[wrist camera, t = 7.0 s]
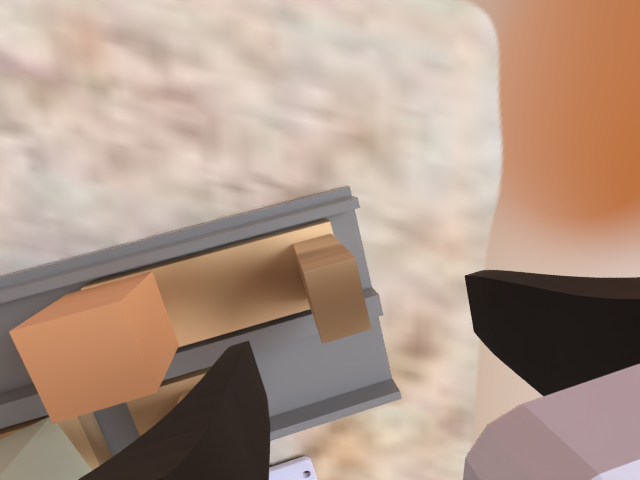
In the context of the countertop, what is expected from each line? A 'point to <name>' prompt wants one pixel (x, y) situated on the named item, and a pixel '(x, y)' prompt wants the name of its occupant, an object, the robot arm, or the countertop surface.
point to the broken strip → (143, 412)
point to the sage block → (40, 454)
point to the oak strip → (261, 285)
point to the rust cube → (98, 347)
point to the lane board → (265, 339)
